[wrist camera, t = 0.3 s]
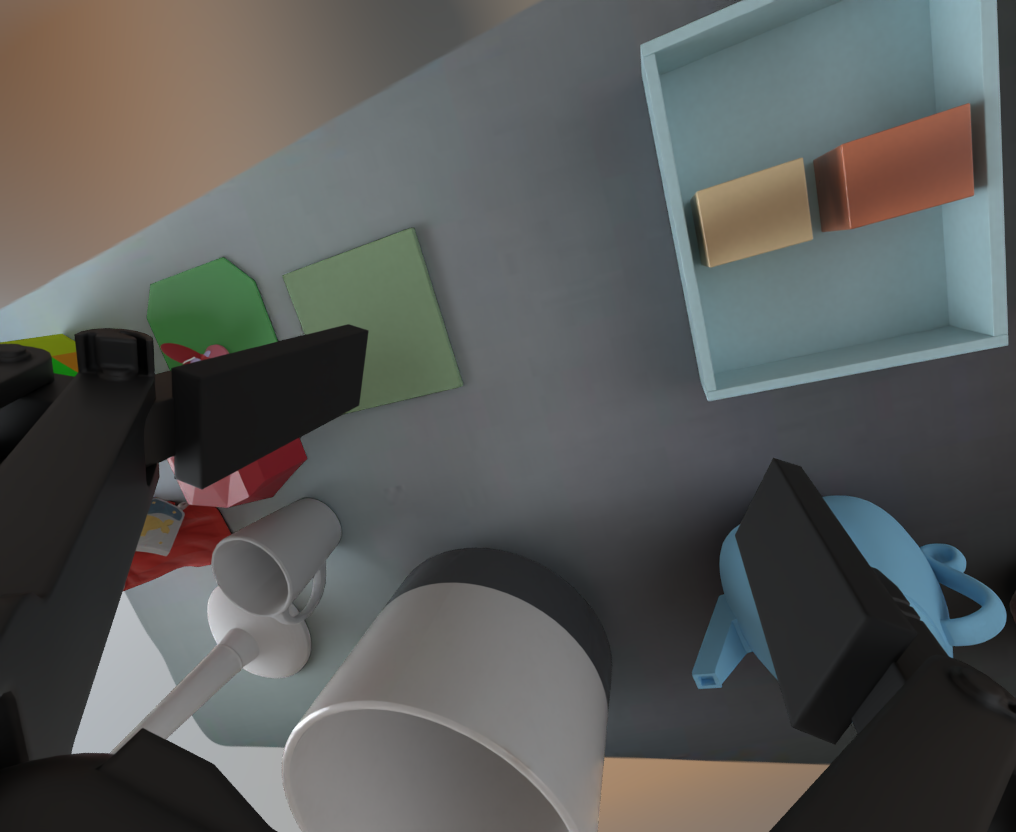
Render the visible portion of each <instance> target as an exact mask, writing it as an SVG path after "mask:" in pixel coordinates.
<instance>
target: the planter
mask: <svg viewBox="0 0 1016 832" xmlns="http://www.w3.org/2000/svg"><path fill="white" fill-rule="evenodd" d="M611 677H612V655H611V650H610V645H609V642H608V639H607V636H606V633H605V631H604V628H603V626H602V624H601V622H600V621H599V619H598V617H597V615H596V614H595V612H594V611H593V609H592V608H591V606H590V605H589V604H588V603H587V602H586V600H585V599H584V598H583V597H582V596H581V595H580V594H579V593H578V592H577V591H576V590H575V589H574V588H573V587H572V586H571V585H570V584H569V583H567V582H566V581H565V580H564V579H562V578H561V577H560V576H558V575H557V574H555V573H554V572H552V571H551V570H549V569H547V568H546V567H544V566H542V565H540V564H538V563H536V562H534V561H532V560H529V559H527V558H525V557H522V556H519V555H516V554H513V553H509V552H505V551H500V550H495V549H488V548H464V549H457V550H452V551H448V552H444V553H441V554H438V555H436V556H434V557H432V558H430V559H428V560H426V561H425V562H423V563H422V564H420V565H419V566H418V567H416V568H415V569H414V570H413V571H412V572H411V573H410V574H409V575H408V576H407V578H406V579H405V580H404V582H403V583H402V584H401V586H400V587H399V588H398V590H397V591H396V592H395V594H394V595H393V596H392V598H391V599H390V600H389V602H388V603H387V604H386V606H385V607H384V608H383V610H382V611H381V612H380V614H379V615H378V616H377V618H376V619H375V621H374V622H373V623H372V625H371V626H370V627H369V629H368V630H367V631H366V633H365V634H364V635H363V637H362V638H361V639H360V641H359V642H358V643H357V645H356V646H355V647H354V649H353V650H352V651H351V653H350V654H349V655H348V657H347V658H346V659H345V661H344V662H343V664H342V665H341V666H340V668H339V669H338V670H337V672H336V673H335V674H334V676H333V677H332V678H331V680H330V681H329V682H328V684H327V685H326V686H325V688H324V689H323V690H322V692H321V693H320V694H319V696H318V697H317V698H316V700H315V701H314V702H313V704H312V705H311V707H310V708H309V709H308V711H307V712H306V713H305V715H304V716H303V717H302V719H301V720H300V721H299V723H298V724H297V725H296V727H295V728H294V730H293V731H292V733H291V734H290V736H289V738H288V740H287V743H286V745H285V748H284V752H283V758H282V780H283V787H284V791H285V796H286V799H287V801H288V804H289V807H290V810H291V812H292V814H293V816H294V818H295V820H296V822H297V824H298V825H299V828H300V829H301V831H302V832H598V822H599V811H600V799H601V788H602V777H603V766H604V755H605V744H606V733H607V722H608V711H609V700H610V689H611Z"/></svg>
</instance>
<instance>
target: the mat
mask: <svg viewBox="0 0 1016 832" xmlns="http://www.w3.org/2000/svg"><path fill="white" fill-rule="evenodd" d="M282 277H283V279H284V282H285V284H286V287H287V290H288V292H289V295H290V297H291V300H292V303H293V305H294V308H295V310H296V313H297V315H298V318H299V321H300V323H301V326H302V328H303V331H304V334H305V335H306V334H310V333H314V332H319V331H323V330H327V329H331V328H335V327H339V326H343V325H347V324H350V325H353V326H356V327H359V328H362V329H366V330H369V333H368V340H367V348H366V356H365V364H364V372H363V380H362V387H361V395H360V403H359V406H357V407H355V408H354V409H352V410H350V411H348V412H346V413H344V414H347V413H351V412H355V411H360V410H364V409H368V408H372V407H377V406H381V405H385V404H389V403H394V402H398V401H402V400H407V399H411V398H415V397H419V396H424V395H428V394H432V393H436V392H441V391H445V390H449V389H454V388H458V387H461V386H463V382H462V379H461V376H460V373H459V369H458V366H457V363H456V360H455V357H454V353H453V350H452V347H451V344H450V341H449V338H448V334H447V331H446V328H445V325H444V322H443V318H442V315H441V312H440V309H439V306H438V303H437V299H436V296H435V293H434V290H433V287H432V283H431V280H430V277H429V274H428V271H427V268H426V264H425V261H424V258H423V255H422V252H421V248H420V245H419V242H418V239H417V236H416V233H415V229H414V228H409V229H406V230H403V231H401V232H398V233H395V234H393V235H390V236H387V237H385V238H382V239H379V240H376V241H374V242H371V243H368V244H366V245H363V246H360V247H358V248H355V249H352V250H349V251H347V252H344V253H341V254H339V255H336V256H333V257H331V258H328V259H325V260H322V261H320V262H317V263H314V264H312V265H309V266H306V267H304V268H301V269H298V270H295V271H293V272H290V273H287V274H285V275H282Z"/></svg>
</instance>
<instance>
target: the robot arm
mask: <svg viewBox="0 0 1016 832" xmlns="http://www.w3.org/2000/svg"><path fill="white" fill-rule="evenodd" d="M368 333H369V330H366V329H362V328H359V327H356V326H353V325H350V324H347V325H343V326H339V327H335V328H331V329H327V330H323V331H319V332H314V333H310V334H306V335H302V336H298V337H294V338H290V339H286V340H282V341H278V342H274V343H270V344H266V345H262V346H258V347H254V348H250V349H246V350H242V351H238V352H234V353H229V354H225V355H221V356H217V357H213V358H209V359H205V360H201V361H197V362H193V363H189V364H185V365H181V366H177V367H173V368H171V371H167V372H163V373H159V374H155V369H154V346H153V338H152V337H151V336H149V335H147V334H145V333H141V332H138V331H133V330H126V329H112V328H103V329H91V330H85V331H81V332H79V333H77V334H75V344H76V354H77V363H78V373H77V375H76V376H75V377H73V376H68V375H62V374H56V373H54V372H53V364H52V357H51V354H50V352H48V351H46V350H43V349H40V348H35V347H30V346H22V345H20V344H0V832H277V831H275V830H274V829H272V828H271V827H270V826H269V825H268V824H267V823H266V822H265V821H264V820H263V819H262V817H261V816H260V815H259V814H258V813H257V812H256V811H255V810H254V808H253V807H252V806H251V805H250V804H249V803H248V802H247V801H246V800H245V798H244V797H243V796H242V795H241V794H240V793H239V792H238V791H237V789H236V788H235V787H234V786H233V785H232V784H231V783H230V782H229V781H228V779H227V778H226V777H225V776H224V775H223V774H222V773H221V772H220V771H219V769H218V768H217V767H216V766H215V765H214V764H212V763H210V762H208V761H206V760H205V759H203V758H201V757H198V756H197V755H195V754H193V753H191V752H189V751H187V750H185V749H183V748H181V747H179V746H177V745H175V744H173V743H172V742H169V741H168V740H166V739H164V738H162V737H160V736H158V735H156V734H154V733H152V732H150V731H148V730H146V729H144V728H142V729H141V730H139V731H138V732H137V733H136V734H135V735H134V736H133V737H132V738H131V739H130V740H129V741H128V742H127V743H126V744H125V745H124V746H122V747H121V748H120V749H119V750H118V751H117V752H116V753H115V754H108V753H79V754H71V753H72V747H73V744H74V740H75V737H76V734H77V731H78V728H79V725H80V722H81V719H82V715H83V712H84V709H85V706H86V703H87V700H88V697H89V694H90V691H91V687H92V684H93V681H94V678H95V675H96V672H97V669H98V666H99V663H100V660H101V657H102V653H103V650H104V647H105V644H106V641H107V638H108V635H109V632H110V628H111V626H112V622H113V619H114V616H115V613H116V610H117V607H118V604H119V601H120V598H121V594H122V591H123V588H124V585H125V582H126V579H127V576H128V573H129V570H130V567H131V564H132V560H133V557H134V554H135V551H136V548H137V545H138V542H139V539H140V536H141V533H142V529H143V526H144V523H145V520H146V517H147V514H148V511H149V508H150V505H151V501H152V498H153V495H154V492H155V489H156V486H157V483H158V480H159V462H161V461H164V460H166V459H168V458H170V457H173V456H174V473H175V479H177V480H179V481H182V482H184V483H187V484H189V485H192V486H194V487H196V488H199V489H201V490H202V489H204V488H206V487H208V486H210V485H212V484H214V483H215V482H217V481H219V480H221V479H223V478H225V477H227V476H229V475H230V474H232V473H234V472H236V471H238V470H240V469H242V468H243V467H245V466H247V465H249V464H251V463H253V462H255V461H257V460H258V459H260V458H262V457H264V456H266V455H268V454H270V453H271V452H273V451H275V450H277V449H279V448H281V447H283V446H285V445H286V444H288V443H290V442H292V441H294V440H296V439H298V438H299V437H301V436H303V435H305V434H307V433H309V432H311V431H313V430H314V429H316V428H318V427H320V426H322V425H324V424H326V423H327V422H329V421H331V420H333V419H335V418H337V417H339V416H341V415H342V414H344V413H346V412H348V411H350V410H352V409H354V408H355V407H357V406H359V403H360V395H361V387H362V380H363V372H364V364H365V356H366V348H367V340H368ZM735 538H736V541H737V544H738V548H739V551H740V554H741V558H742V561H743V565H744V568H745V571H746V575H747V578H748V581H749V585H750V588H751V591H752V595H753V598H754V602H755V605H756V608H757V612H758V615H759V618H760V622H761V625H762V629H763V632H764V635H765V639H766V642H767V645H768V649H769V652H770V655H771V659H772V662H773V666H774V669H775V672H776V676H777V679H778V682H779V686H780V689H781V693H782V696H783V699H784V703H785V706H786V709H787V713H788V716H789V719H790V723H791V726H792V727H793V728H795V729H798V730H800V731H803V732H805V733H808V734H810V735H813V736H815V737H817V738H820V739H822V740H825V741H827V742H830V743H832V744H836V743H837V742H838V740H839V739H840V738H841V736H842V735H843V733H844V732H845V731H846V729H847V728H848V727H849V725H850V724H851V723H852V722H853V724H854V726H855V729H856V731H857V733H858V735H857V736H856V737H855V738H854V739H853V740H852V741H851V743H850V744H849V745H848V746H847V747H846V748H845V749H844V750H843V751H842V752H841V754H840V755H839V756H838V757H837V758H836V759H835V760H834V761H833V762H832V763H831V764H830V766H829V767H828V768H827V769H826V770H825V771H824V772H823V773H822V774H821V775H820V777H819V778H818V779H817V780H816V781H815V782H814V783H813V784H812V785H811V786H810V787H809V789H808V790H807V791H806V792H805V793H804V794H803V795H802V796H801V797H800V798H799V800H798V801H797V802H796V803H795V804H794V805H793V806H792V807H791V808H790V810H788V812H787V813H786V814H785V815H784V816H783V817H782V818H781V819H780V821H778V822H777V824H776V825H775V826H774V827H773V828H772V829H771V830H770V831H769V832H1016V699H1015V698H1014V697H1013V696H1012V695H1011V694H1010V693H1009V692H1008V691H1007V690H1006V689H1004V688H1003V687H1002V686H1000V685H999V684H998V683H996V682H995V681H994V680H992V679H991V678H990V677H988V676H987V675H985V674H984V673H982V672H980V671H978V670H977V669H975V668H973V667H971V666H970V665H968V664H966V663H963V662H961V661H959V660H956V659H954V658H951V657H949V656H948V654H947V653H946V652H945V650H944V649H943V648H942V646H941V645H940V644H939V642H938V641H937V639H936V638H935V637H934V635H933V634H932V633H931V631H930V630H929V629H928V627H927V626H926V624H925V623H924V622H923V621H921V620H920V616H919V615H918V614H917V612H916V611H915V610H914V608H913V607H911V606H910V603H909V601H908V600H907V599H906V597H905V596H904V595H903V593H902V592H901V590H900V589H899V588H898V586H896V585H895V584H894V583H893V582H892V581H891V580H890V579H888V578H887V577H886V576H885V575H884V574H883V573H881V572H880V571H879V570H878V569H876V568H873V567H871V566H870V565H869V564H868V562H867V561H866V559H865V558H864V556H863V555H862V554H861V552H860V551H859V549H858V548H857V546H856V545H855V543H854V542H853V541H852V539H851V538H850V536H849V535H848V533H847V532H846V531H845V529H844V528H843V526H842V525H841V523H840V522H839V520H838V519H837V518H836V516H835V515H834V513H833V512H832V510H831V509H830V508H829V506H828V505H827V503H826V502H825V500H824V499H823V497H822V496H821V495H820V493H819V492H818V490H817V489H816V487H815V486H814V485H813V483H812V482H811V480H810V479H809V477H808V476H807V474H806V473H805V472H804V470H803V469H802V467H801V466H797V465H794V464H791V463H788V462H785V461H782V460H778V459H775V458H773V460H772V462H771V464H770V466H769V468H768V470H767V472H766V474H765V476H764V478H763V480H762V482H761V484H760V486H759V488H758V490H757V492H756V494H755V496H754V498H753V500H752V502H751V504H750V506H749V508H748V510H747V512H746V514H745V516H744V518H743V520H742V522H741V524H740V526H739V528H738V530H737V532H736V534H735Z"/></svg>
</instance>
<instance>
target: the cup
mask: <svg viewBox="0 0 1016 832" xmlns="http://www.w3.org/2000/svg"><path fill="white" fill-rule="evenodd" d="M340 539H341V526H340V522H339V520H338V518H337V516H336V515H335V513H334V512H333V511H332V510H331V509H330V508H329V507H328V506H327V505H325V504H324V503H322V502H320V501H318V500H315V499H311V498H304V499H301V500H298V501H296V502H294V503H292V504H290V505H288V506H286V507H284V508H282V509H280V510H277V511H275V512H273V513H271V514H269V515H267V516H265V517H263V518H261V519H259V520H257V521H256V522H254V523H252V524H250V525H248V526H246V527H244V528H243V529H241V530H239V531H237V532H235V533H233V534H231V535H230V536H228V537H226V538H224V539H223V540H221V541H220V542H219V543H218V544H217V545H216V547H215V549H214V552H213V554H212V561H211V564H212V570H213V574H214V577H215V579H216V582H217V584H218V585H219V587H220V589H221V590H222V592H223V593H224V594H225V595H226V596H227V597H228V599H229V600H230V601H231V602H232V603H234V604H235V605H236V606H238V607H239V608H240V609H242V610H244V611H246V612H248V613H249V614H252V615H256V616H259V617H272V618H274V619H276V620H278V621H279V622H280V623H283V624H297V623H299V622H301V621H303V620H305V619H306V618H307V617H308V616H309V615H310V614H311V613H312V612H313V611H314V609H315V608H316V606H317V605H318V603H319V601H320V599H321V597H322V595H323V592H324V588H325V584H326V559H327V558H328V557H329V555H330V554H331V553H332V551H333V550H334V549H335V547H336V546H337V544H338V543H339V541H340ZM312 578H313V589H312V594H311V597H310V599H309V602H308V603H307V605H306V606H305V608H304V609H303V610H302V611H301V612H300V613H299V614H298V615H296V616H295V617H293V616H291V615H290V614H289V606H290V605H291V604H292V602H293V601H294V600H295V599H296V597H297V596H298V595H299V594H300V593H301V591H302V590H303V589H304V588H305V586H306V585H307V584H308V583H309V582H310V580H311V579H312Z"/></svg>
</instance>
